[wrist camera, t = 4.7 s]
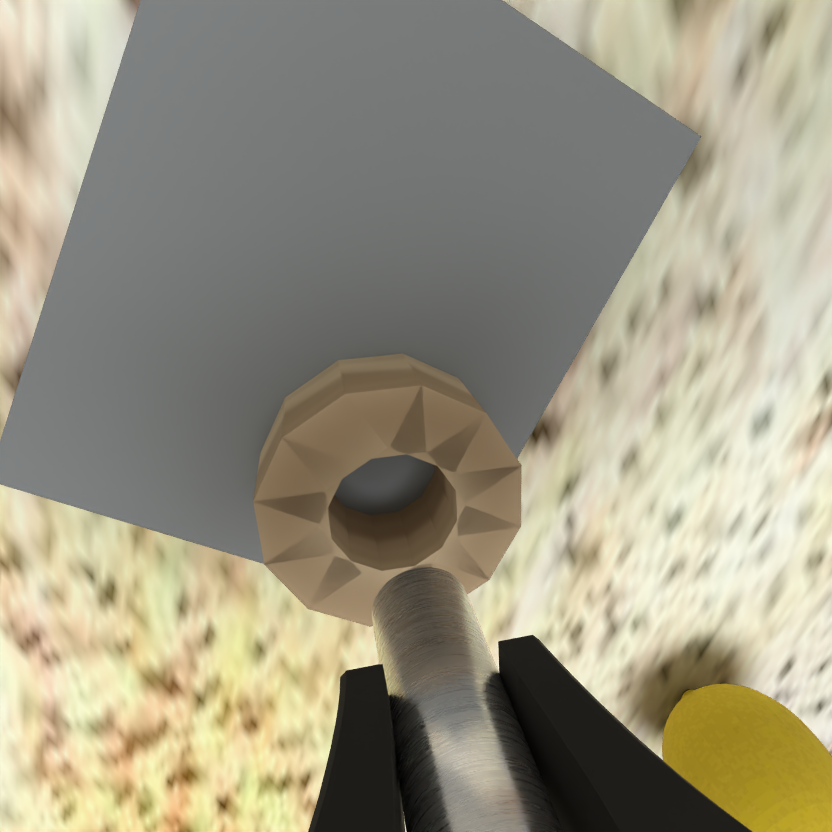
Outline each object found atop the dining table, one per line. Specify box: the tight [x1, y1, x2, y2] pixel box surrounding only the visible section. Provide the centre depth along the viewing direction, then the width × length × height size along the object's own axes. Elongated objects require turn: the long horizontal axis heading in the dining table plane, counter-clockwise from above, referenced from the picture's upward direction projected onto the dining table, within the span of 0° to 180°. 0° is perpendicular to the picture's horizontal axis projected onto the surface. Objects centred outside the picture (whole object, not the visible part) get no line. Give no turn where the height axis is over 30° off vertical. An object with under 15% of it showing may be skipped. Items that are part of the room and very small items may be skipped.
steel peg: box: [372, 567, 563, 832], centre depth 9 cm, size 2×2×8 cm
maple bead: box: [253, 353, 521, 626], centre depth 17 cm, size 7×7×3 cm
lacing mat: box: [0, 0, 701, 564], centre depth 17 cm, size 14×17×1 cm
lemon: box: [662, 684, 832, 832], centre depth 22 cm, size 6×6×8 cm
